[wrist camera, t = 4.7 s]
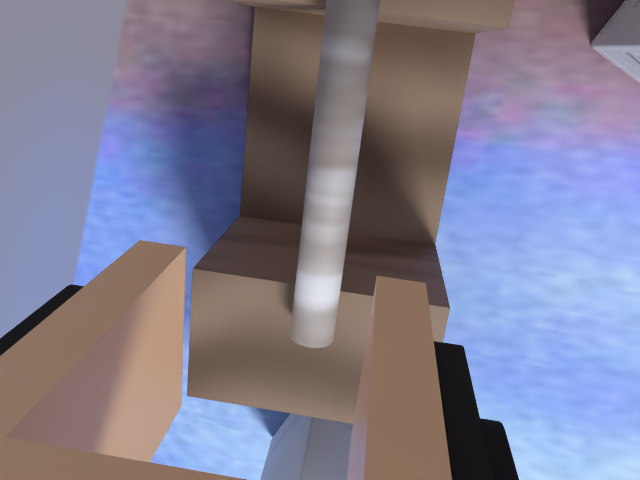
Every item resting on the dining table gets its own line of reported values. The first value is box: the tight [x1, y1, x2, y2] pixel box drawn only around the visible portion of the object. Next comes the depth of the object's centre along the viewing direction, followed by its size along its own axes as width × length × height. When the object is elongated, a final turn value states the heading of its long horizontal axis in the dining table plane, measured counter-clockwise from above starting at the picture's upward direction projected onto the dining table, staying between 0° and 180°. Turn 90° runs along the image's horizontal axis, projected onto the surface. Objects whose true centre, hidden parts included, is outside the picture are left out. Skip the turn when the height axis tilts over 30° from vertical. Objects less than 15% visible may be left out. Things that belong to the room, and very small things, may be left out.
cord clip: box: [0, 240, 452, 480], centre depth 9 cm, size 4×6×8 cm, turn 83°
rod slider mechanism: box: [187, 0, 514, 424], centre depth 28 cm, size 26×12×12 cm, turn 173°
